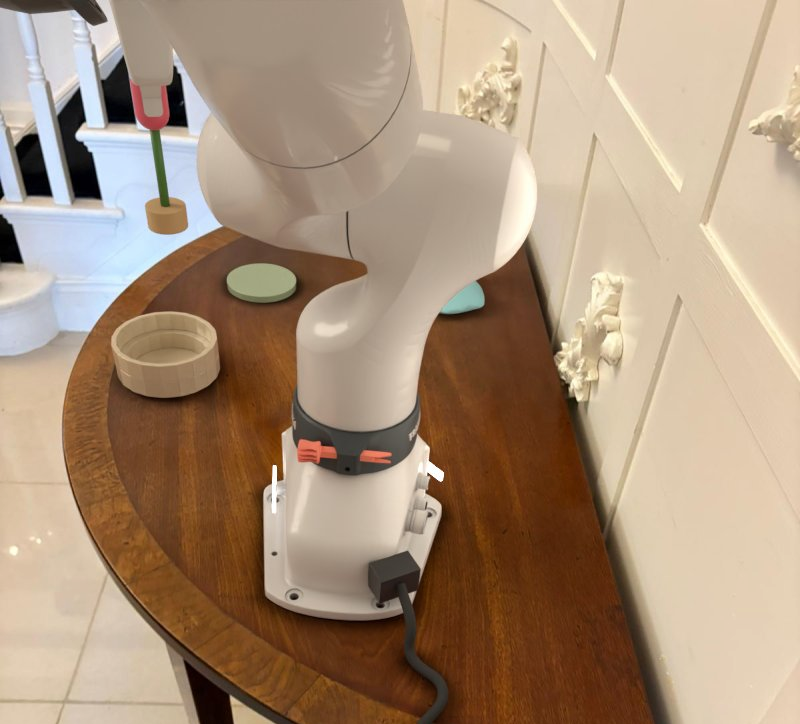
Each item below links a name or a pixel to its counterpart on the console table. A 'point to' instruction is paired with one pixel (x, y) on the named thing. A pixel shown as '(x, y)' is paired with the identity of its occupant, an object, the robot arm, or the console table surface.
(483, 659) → the console table surface
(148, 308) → the console table surface
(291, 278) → the coaster
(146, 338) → the bowl
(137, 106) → the tulip
